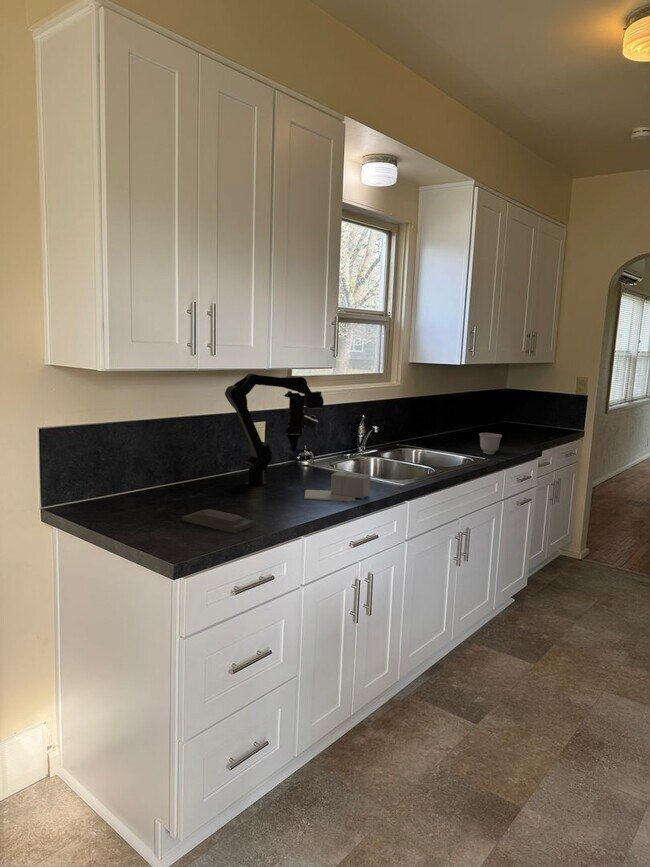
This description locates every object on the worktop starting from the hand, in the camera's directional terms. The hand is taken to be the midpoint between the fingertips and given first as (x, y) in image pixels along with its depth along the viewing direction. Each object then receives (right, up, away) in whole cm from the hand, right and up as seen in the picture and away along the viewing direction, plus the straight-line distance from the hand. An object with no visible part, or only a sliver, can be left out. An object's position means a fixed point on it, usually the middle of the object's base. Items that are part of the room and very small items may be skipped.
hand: (294, 449), depth 253 cm
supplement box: (+15, -12, -14) cm, 24 cm away
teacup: (+97, -4, +90) cm, 133 cm away
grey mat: (+13, -17, -18) cm, 28 cm away
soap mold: (-20, -22, -57) cm, 64 cm away
